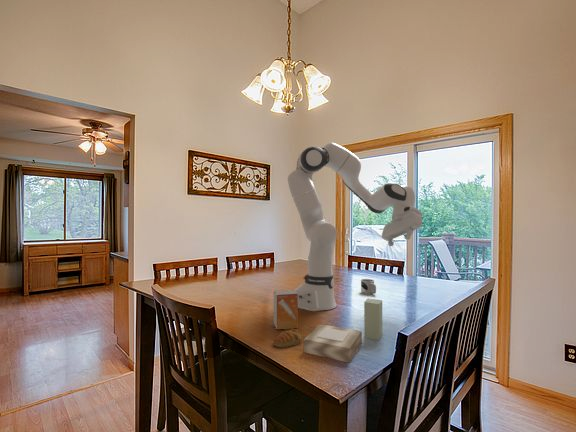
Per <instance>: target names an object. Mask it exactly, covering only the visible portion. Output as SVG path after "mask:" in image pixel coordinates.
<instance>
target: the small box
mask: <svg viewBox="0 0 576 432" xmlns="http://www.w3.org/2000/svg"><path fill="white" fill-rule="evenodd" d="M298 311H299V308H298V293H297V292H296V291H295V289H280V290H273V326H274V325H275V326H274V327H276V328H275V330H276V329H284V330H291V329H294V328H297V329H298V327H299V322H298V321H299V312H298Z"/></svg>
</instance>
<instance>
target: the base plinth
mask: <svg viewBox="0 0 576 432" xmlns="http://www.w3.org/2000/svg"><path fill="white" fill-rule="evenodd" d="M362 333H363V331H362V330H358V329H357V330H356V329H350V328H346V327H345V328H344V327H338V326H334V325H329V324H328V325H327V324H319V325H318V326H317V327H316V328H315V329H313V331H311V332H310V333H309V334H308V335H307V336H306V337H304V339H303V353H306V354H310V355H314V356H319V357H323V358H328V359H331V360H336V361H340V362H345V363H350V362H351V361H352V360H353V358H354V357H355V355H356V353H357V352H358V350H359V349H360V347H361V346H362V344H363V334H362Z"/></svg>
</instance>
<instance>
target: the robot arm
mask: <svg viewBox="0 0 576 432" xmlns="http://www.w3.org/2000/svg"><path fill="white" fill-rule="evenodd" d="M296 161H297V162H296V169H295V170H293V171H291V173H289V175H288V176H287V183H288V188H289V191H290V194H291V197H292V199H293V201H294V203H295V206H296V208H297V211H298V214H299V217H300V220H301V224H302V227H303V230H304V232H305V233H304V234H305V237H306V239H308V241H309V242H310V245H309V246H310V248H309V252H308V253H309V254H308V258H307V260H308V261H307V262H308V263H307V265H308V266H307V269H308V271H307V272H308V273H307V274H305V275H304V276H303V279H302V280H304V282H303V283H301V284H300V285H298V287H296V288H295V289H294V290H295V291H296V292H297V293H298V309H301V310H306V311H309V312H310V311H311V312H318V311H327V310H328V311H329V310H332V309H335V308H336V307H337V303H336V299H335V294H334V285H335V284H334V283H335V281H334V280H335V279H334V274H333V257H334V250H335V244H336V240H337V238H338V230H337V228H336V226H334V224H333V223H331V222H330V221H326V220H325V216H324V212H323V211H324V210H323V205H322V201H321V199H320V197H319V195H318V192H317V190H316V187H315V184H314V182H313V175H314V174H316V173H317V172H319V171H320V170H321V169H323V168H324V167H327V168H330V169H331V170H332V171H334V172H335V173H336V174H337V175H339V177H341V178H342V182H343V184H344V185H345V187H347V189H348V190H350V191H351V193H352V194H354V195H355V196H356V197H358V199H359V200H361V202H362V203H364V205H365V206H366V207H367V208H368V210H369V211H371V212H372V213H375V214H383V213H384V212H385V211H386V210H387V209H388V208H390V207H392V214H391V221H389V222H387V223H386V224H385V225H384V227H383V229H382V233H381V239H383V240H384V241H387V245H388V246H389V247H392V246H394V243H395V242H394V241H393V240H394V239H397V238H399V237H400V236H403V235H404V236H403V237H404V240H406V241H408V240H411V236H412V235H413V233H414V231H416V230H418V229H420V228H421V227H422V225H423V212H422V211H421V210H419V209H418V208H416V207H415V202H416V201H415V199H416V198H415V197H416V195H415V191H414V189H413V188H412V187H411V186H409V185H406V184H405V185H400V184H398V183H396V182H393V181H388V182H386V183H385V184H383V185H382V186H380V188H378V189H376V191H374V192H371V191H370V190H369V189H368V188H366V186H365V185H363V184H362V182H361V181H360V179H359V176H360V172H361V168H362V163H361V160H360V159H359V157H358V156H357V155H356V154H354V153H353V152H351V151H350V150H348V149H347V148H345V147H344V146H341V145H340V144H337V143H335V142H329V143H327V144H325V145H324V146H323V147H319V146H310V147H307V148H305V149H304V150H303V151H302V152H301V153H300V154H299V155H298V158H297V160H296Z"/></svg>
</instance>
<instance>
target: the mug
mask: <svg viewBox="0 0 576 432" xmlns="http://www.w3.org/2000/svg"><path fill="white" fill-rule="evenodd" d="M376 292H377V285H376V284H375V280H374V279H370V278H363V279H361V280H360V293H361V294H364V295H374V294H377V293H376Z"/></svg>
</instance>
